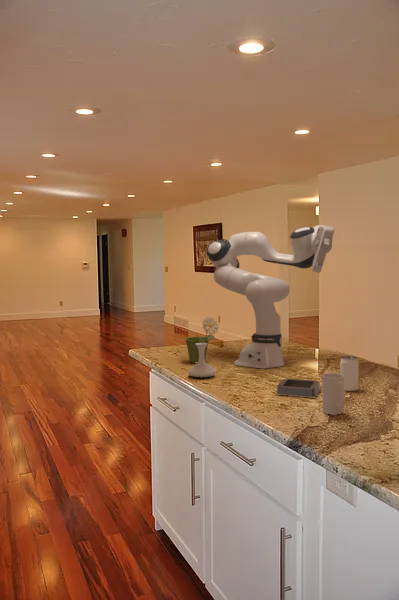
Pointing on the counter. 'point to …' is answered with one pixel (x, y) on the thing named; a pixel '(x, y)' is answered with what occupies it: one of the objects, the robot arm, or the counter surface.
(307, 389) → the socket block
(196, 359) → the plant pot
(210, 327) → the flower in vase
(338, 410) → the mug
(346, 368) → the can
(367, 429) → the counter surface
